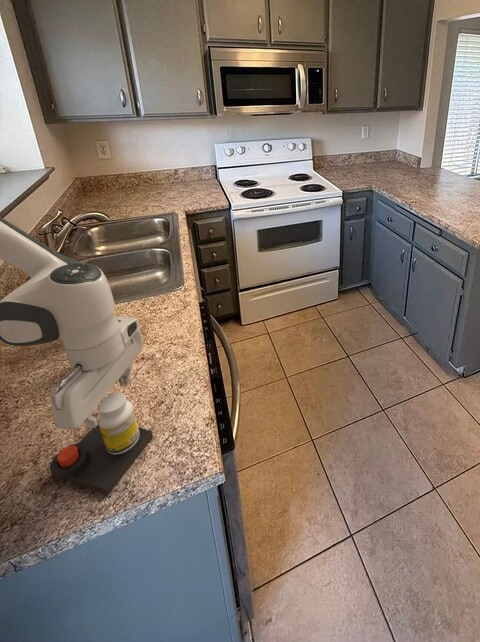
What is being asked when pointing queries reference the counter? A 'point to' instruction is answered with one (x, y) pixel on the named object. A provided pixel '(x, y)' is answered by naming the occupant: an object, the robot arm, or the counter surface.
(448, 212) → the counter surface
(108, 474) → the black kitchen scale
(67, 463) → the button
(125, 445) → the pill bottle
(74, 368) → the robot arm
